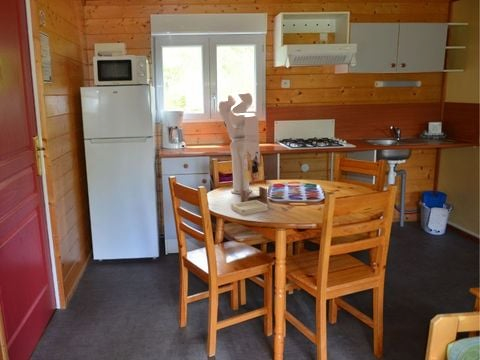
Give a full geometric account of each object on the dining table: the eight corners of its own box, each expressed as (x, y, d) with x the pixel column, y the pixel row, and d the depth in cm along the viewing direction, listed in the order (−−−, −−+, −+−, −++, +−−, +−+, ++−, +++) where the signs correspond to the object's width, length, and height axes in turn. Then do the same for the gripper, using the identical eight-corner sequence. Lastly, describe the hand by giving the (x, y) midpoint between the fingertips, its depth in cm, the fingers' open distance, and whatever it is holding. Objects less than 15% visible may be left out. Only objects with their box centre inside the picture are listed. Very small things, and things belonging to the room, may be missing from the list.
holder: (241, 202, 238) (240, 189, 236) (260, 198, 243) (260, 186, 242) (247, 205, 231) (246, 192, 230) (267, 201, 237) (267, 189, 235)
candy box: (258, 178, 239) (257, 151, 236) (262, 179, 235) (261, 151, 232) (244, 181, 235) (243, 153, 232) (248, 182, 231) (247, 153, 228)
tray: (231, 209, 226) (231, 204, 225) (256, 204, 232) (256, 199, 232) (242, 215, 214) (242, 210, 214) (268, 210, 221) (268, 205, 220)
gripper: (238, 137, 235) (239, 169, 240) (253, 141, 221) (254, 175, 225) (250, 135, 239) (251, 168, 243) (265, 139, 224) (266, 173, 228)
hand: (252, 171), depth 234 cm, fingers closed on candy box, 4 cm apart
